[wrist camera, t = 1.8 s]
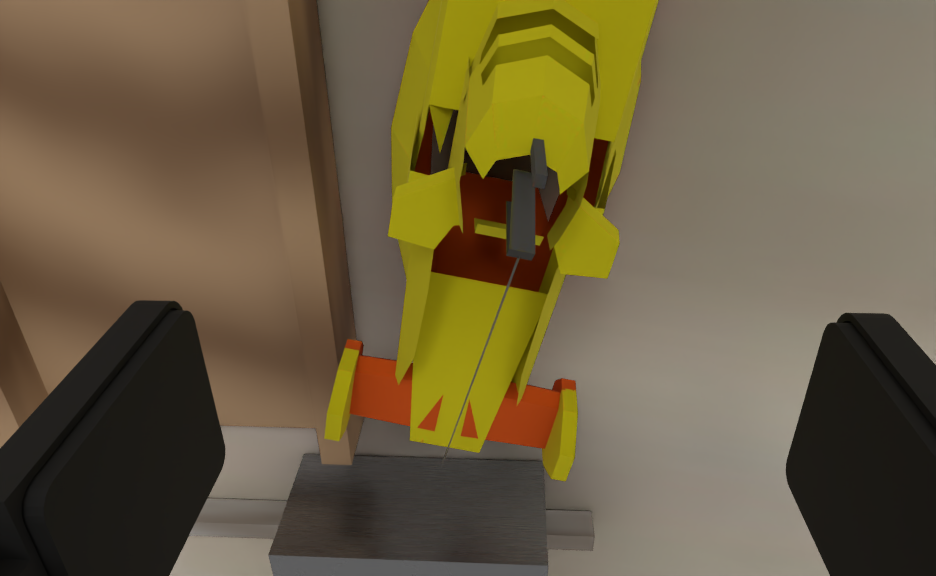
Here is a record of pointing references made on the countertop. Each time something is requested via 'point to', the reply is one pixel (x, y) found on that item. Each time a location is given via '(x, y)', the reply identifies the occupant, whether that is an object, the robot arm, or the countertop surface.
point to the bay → (180, 210)
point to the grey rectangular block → (413, 519)
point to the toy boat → (498, 215)
